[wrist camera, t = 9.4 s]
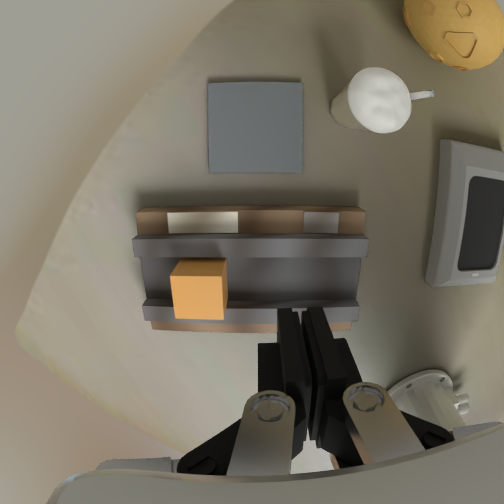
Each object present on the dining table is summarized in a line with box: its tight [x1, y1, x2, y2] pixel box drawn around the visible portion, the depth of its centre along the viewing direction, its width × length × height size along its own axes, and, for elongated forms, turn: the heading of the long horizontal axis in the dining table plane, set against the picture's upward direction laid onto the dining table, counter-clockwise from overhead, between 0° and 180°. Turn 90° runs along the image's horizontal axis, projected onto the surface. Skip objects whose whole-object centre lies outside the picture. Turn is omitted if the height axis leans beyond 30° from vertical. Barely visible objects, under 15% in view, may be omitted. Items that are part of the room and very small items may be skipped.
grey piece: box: [132, 205, 369, 333], centre depth 28 cm, size 20×12×4 cm, turn 90°
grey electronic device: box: [424, 139, 504, 287], centre depth 26 cm, size 10×4×15 cm
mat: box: [208, 82, 303, 173], centre depth 25 cm, size 8×8×1 cm
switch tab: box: [170, 257, 228, 320], centre depth 26 cm, size 4×4×4 cm
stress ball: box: [402, 0, 504, 70], centre depth 16 cm, size 10×10×10 cm
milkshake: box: [330, 67, 434, 133], centre depth 20 cm, size 5×5×10 cm
